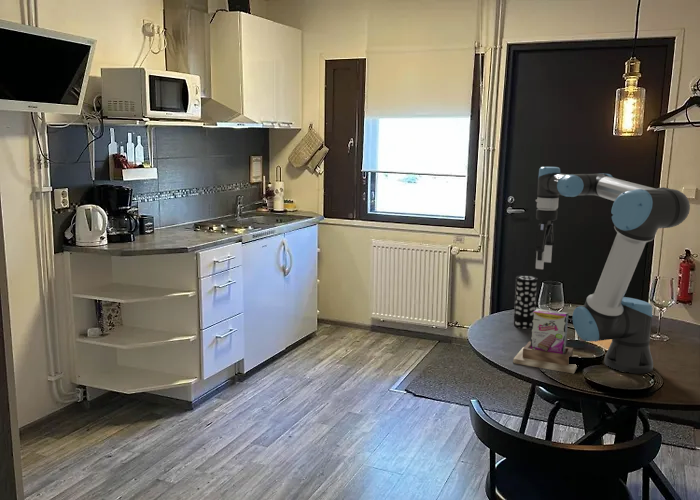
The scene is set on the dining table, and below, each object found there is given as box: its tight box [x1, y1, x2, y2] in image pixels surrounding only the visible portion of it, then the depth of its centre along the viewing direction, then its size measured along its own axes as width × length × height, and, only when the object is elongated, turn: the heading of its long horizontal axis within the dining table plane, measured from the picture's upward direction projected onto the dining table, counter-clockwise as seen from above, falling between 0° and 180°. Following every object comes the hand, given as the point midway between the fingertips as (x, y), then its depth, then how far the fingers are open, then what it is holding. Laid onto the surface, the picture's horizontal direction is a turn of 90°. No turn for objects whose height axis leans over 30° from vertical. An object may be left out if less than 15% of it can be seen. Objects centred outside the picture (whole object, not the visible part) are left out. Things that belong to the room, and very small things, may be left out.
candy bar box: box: [530, 308, 569, 354], centre depth 220 cm, size 11×5×16 cm, turn 63°
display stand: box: [512, 340, 578, 375], centre depth 222 cm, size 20×14×5 cm
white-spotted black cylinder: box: [513, 275, 538, 330], centre depth 261 cm, size 8×8×20 cm
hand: (543, 265), depth 241 cm, fingers open, 13 cm apart
